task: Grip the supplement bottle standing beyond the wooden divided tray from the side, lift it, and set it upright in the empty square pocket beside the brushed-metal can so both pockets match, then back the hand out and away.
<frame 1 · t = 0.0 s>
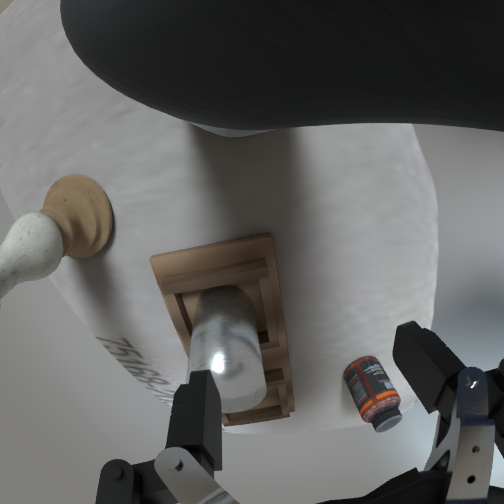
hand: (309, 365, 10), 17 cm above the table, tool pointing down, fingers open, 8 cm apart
wooden divided tray: (238, 354, 32), on the table
candle holder: (78, 215, 24), on the table
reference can: (224, 308, 28), point 1 cm above the table, touching wooden divided tray
supplement bottle: (360, 366, 36), on the table
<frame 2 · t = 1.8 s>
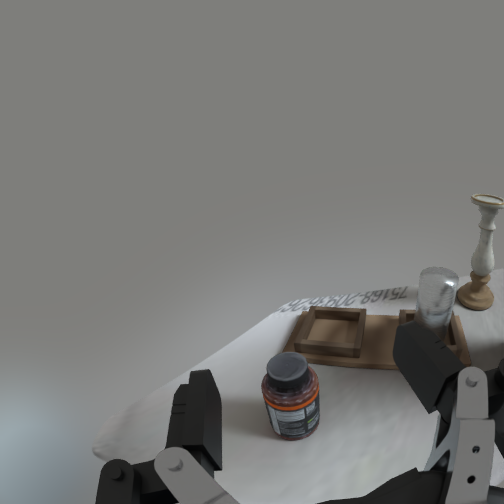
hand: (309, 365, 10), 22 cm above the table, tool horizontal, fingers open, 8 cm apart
wooden divided tray: (380, 342, 38), on the table
candle holder: (475, 299, 39), on the table
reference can: (427, 338, 34), point 1 cm above the table, touching wooden divided tray
supplement bottle: (295, 423, 28), on the table
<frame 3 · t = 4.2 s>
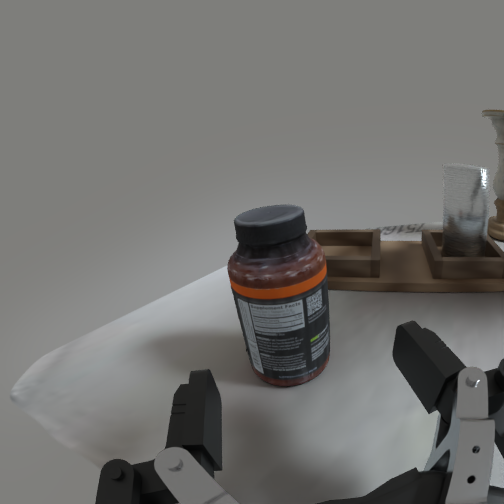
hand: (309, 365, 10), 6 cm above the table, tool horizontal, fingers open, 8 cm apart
wooden divided tray: (403, 266, 29), on the table
candle holder: (503, 234, 30), on the table
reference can: (462, 259, 25), point 1 cm above the table, touching wooden divided tray
supplement bottle: (290, 362, 19), on the table
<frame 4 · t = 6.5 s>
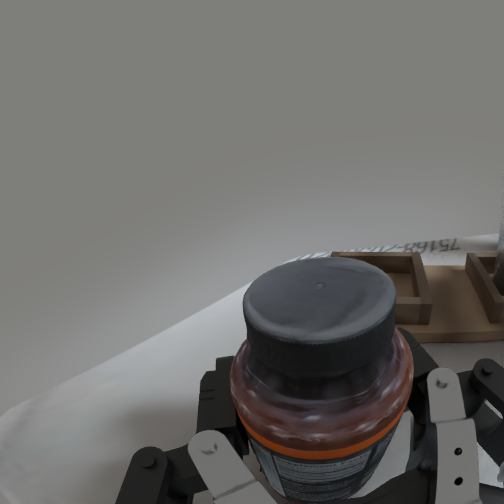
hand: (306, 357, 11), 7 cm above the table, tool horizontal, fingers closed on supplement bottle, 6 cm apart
wooden divided tray: (448, 301, 20), on the table
supplement bottle: (320, 464, 11), on the table, touching gripper
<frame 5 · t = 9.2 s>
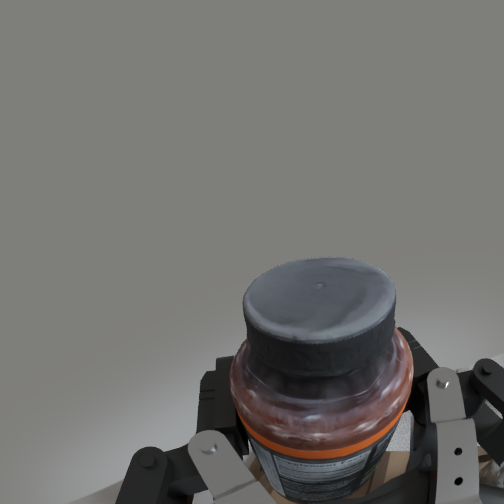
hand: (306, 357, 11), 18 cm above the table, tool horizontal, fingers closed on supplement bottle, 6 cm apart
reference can: (483, 496, 7), point 1 cm above the table, touching wooden divided tray
supplement bottle: (320, 464, 11), point 11 cm above the table, touching gripper
when the fingers open (8 cm above the table, at t = 11.9 s): supplement bottle stays where it is, resting on wooden divided tray.
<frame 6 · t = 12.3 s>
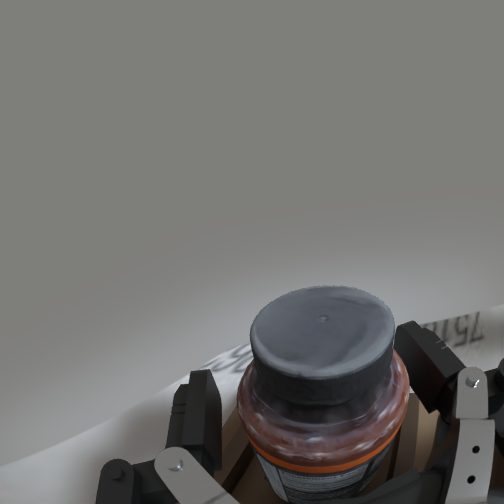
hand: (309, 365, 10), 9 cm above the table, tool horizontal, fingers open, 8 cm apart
wooden divided tray: (443, 480, 8), on the table
supplement bottle: (321, 471, 11), point 1 cm above the table, touching wooden divided tray
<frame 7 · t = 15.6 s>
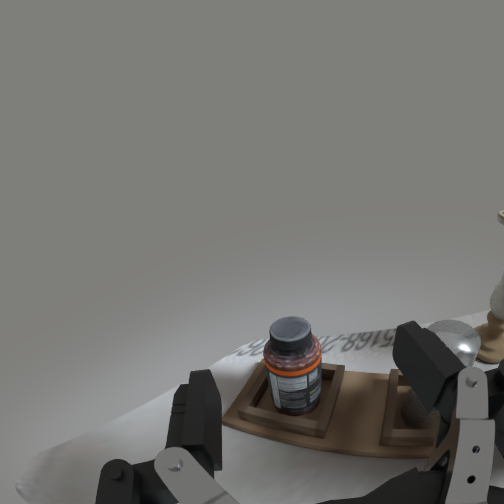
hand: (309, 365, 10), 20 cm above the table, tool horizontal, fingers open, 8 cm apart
wooden divided tray: (359, 412, 26), on the table
candle holder: (489, 346, 27), on the table
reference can: (424, 410, 22), point 1 cm above the table, touching wooden divided tray
supplement bottle: (296, 399, 29), point 1 cm above the table, touching wooden divided tray
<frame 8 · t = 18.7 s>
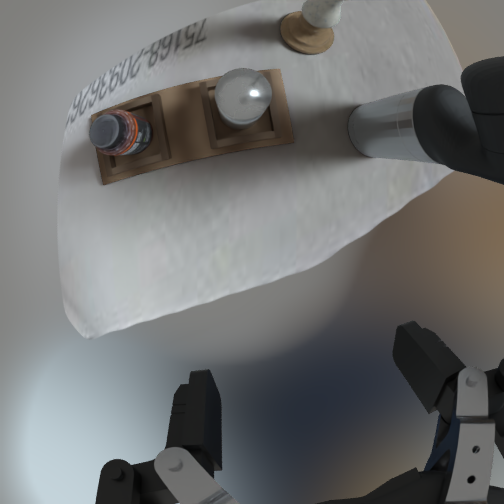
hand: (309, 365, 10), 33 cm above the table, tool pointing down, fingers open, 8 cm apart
wooden divided tray: (186, 122, 36), on the table
candle holder: (306, 33, 32), on the table
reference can: (240, 110, 35), point 1 cm above the table, touching wooden divided tray
supplement bottle: (136, 135, 35), point 1 cm above the table, touching wooden divided tray
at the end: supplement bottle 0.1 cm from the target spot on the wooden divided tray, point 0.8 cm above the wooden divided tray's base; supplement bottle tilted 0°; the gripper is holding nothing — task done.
